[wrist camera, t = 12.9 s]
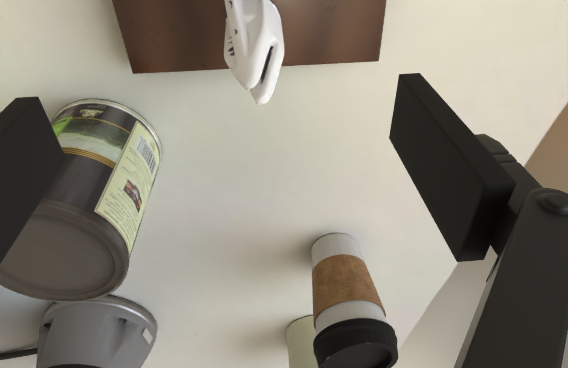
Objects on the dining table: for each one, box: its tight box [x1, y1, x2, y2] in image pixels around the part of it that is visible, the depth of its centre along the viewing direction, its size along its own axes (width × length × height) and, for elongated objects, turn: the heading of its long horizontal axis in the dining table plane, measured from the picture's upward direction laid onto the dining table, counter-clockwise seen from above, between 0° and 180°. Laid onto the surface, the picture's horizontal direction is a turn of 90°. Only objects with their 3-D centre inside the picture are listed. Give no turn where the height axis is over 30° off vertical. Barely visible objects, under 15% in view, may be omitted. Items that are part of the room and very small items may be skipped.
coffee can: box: [0, 99, 162, 302], centre depth 32 cm, size 10×10×14 cm
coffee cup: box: [311, 233, 398, 368], centre depth 43 cm, size 8×8×15 cm
